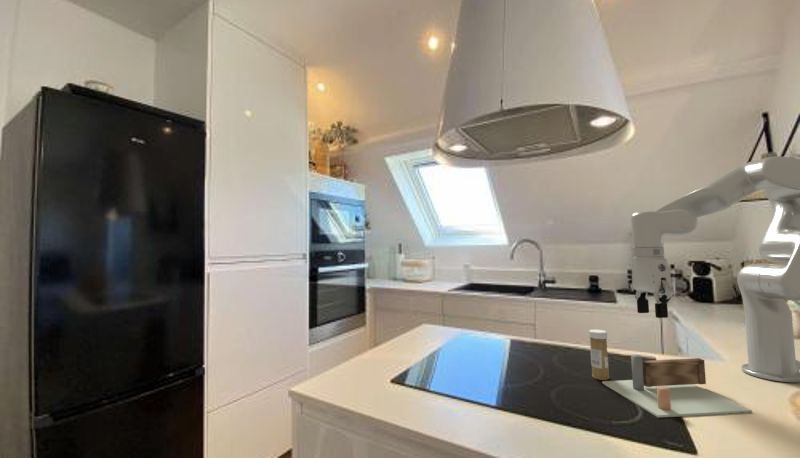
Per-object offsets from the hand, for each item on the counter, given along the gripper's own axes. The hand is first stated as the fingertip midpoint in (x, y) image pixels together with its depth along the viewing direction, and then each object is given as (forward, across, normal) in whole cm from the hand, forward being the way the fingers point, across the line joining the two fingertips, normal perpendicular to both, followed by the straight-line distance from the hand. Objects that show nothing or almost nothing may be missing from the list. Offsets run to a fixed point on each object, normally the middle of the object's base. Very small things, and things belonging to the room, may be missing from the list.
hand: (652, 314), depth 103 cm
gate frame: (+18, -13, +7) cm, 23 cm away
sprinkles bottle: (+18, +1, +16) cm, 24 cm away
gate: (+16, -9, +2) cm, 19 cm away
